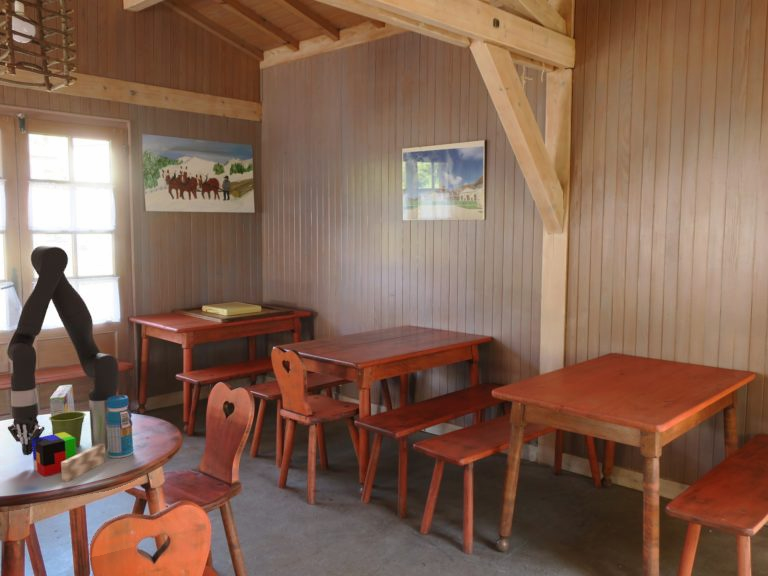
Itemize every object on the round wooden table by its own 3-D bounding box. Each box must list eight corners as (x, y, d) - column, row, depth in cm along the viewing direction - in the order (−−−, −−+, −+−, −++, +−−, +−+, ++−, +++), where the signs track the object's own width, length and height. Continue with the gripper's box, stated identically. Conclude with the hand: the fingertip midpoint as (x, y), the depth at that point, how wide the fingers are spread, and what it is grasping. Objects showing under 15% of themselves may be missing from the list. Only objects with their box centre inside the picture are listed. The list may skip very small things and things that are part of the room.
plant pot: (73, 452, 228) (71, 421, 227) (43, 451, 231) (41, 419, 230) (94, 442, 240) (92, 411, 239) (65, 440, 242) (64, 410, 241)
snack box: (60, 421, 267) (58, 385, 266) (75, 420, 269) (73, 384, 267) (51, 436, 247) (48, 397, 246) (67, 435, 249) (65, 396, 247)
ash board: (100, 461, 219) (99, 443, 219) (105, 461, 219) (104, 443, 218) (62, 481, 202) (60, 462, 201) (67, 481, 201) (66, 462, 201)
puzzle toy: (33, 468, 213) (31, 438, 212) (66, 460, 220) (64, 431, 219) (44, 476, 206) (42, 445, 205) (77, 468, 213) (75, 438, 212)
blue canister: (105, 460, 220) (102, 401, 219) (109, 451, 228) (106, 395, 227) (132, 457, 223) (129, 399, 221) (135, 449, 231) (132, 393, 229)
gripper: (50, 400, 216) (53, 452, 217) (16, 398, 219) (20, 449, 221) (32, 406, 208) (35, 459, 210) (-2, 404, 212) (1, 456, 213)
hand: (27, 454), depth 215 cm, fingers closed
